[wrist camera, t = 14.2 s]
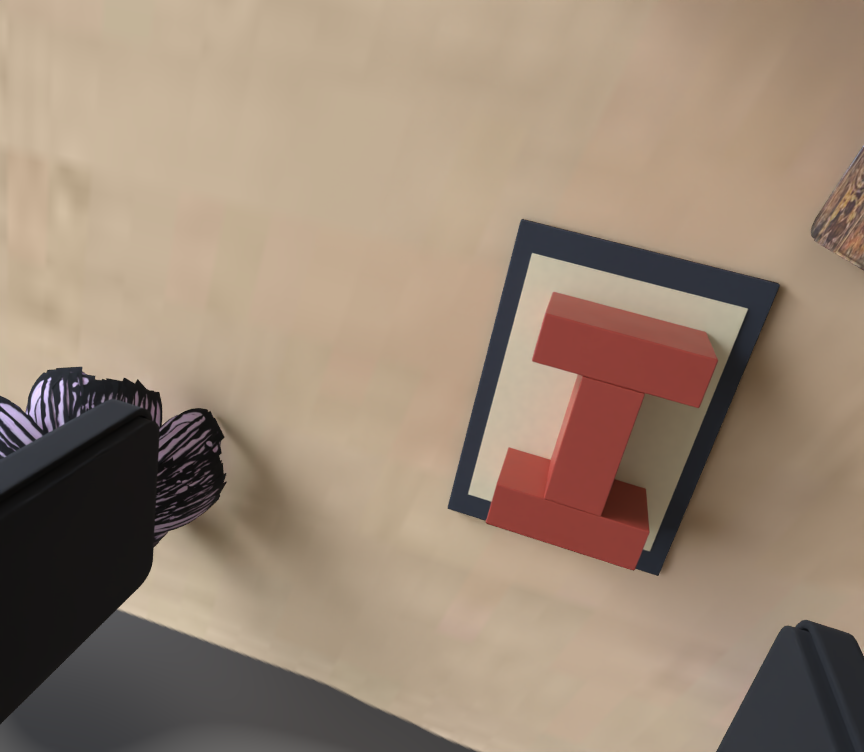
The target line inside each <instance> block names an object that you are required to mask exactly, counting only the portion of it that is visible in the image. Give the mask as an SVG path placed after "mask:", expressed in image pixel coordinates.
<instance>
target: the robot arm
mask: <svg viewBox="0 0 864 752" xmlns="http://www.w3.org/2000/svg"><path fill="white" fill-rule="evenodd" d="M159 436H160V430H159V426H158V424H157V423H156V422H154V421H153V419H152V415H151V413H150V411H148V410H147V409H145V408H142V407H138V406H135V405H132V404H129V403H126V402H123V401H120V400H117V399H110V400H107V401H105V402H103V403H101V404H99V405H97V406H96V407H94V408H92V409H90V410H88V411H87V412H85V413H83V414H81V415H79V416H78V417H76V418H74V419H72V420H70V421H69V422H67V423H65V424H63V425H61V426H60V427H58V428H56V429H54V430H52V431H51V432H49V433H47V434H45V435H44V436H42V437H40V438H38V439H36V440H35V441H33V442H31V443H29V444H27V445H26V446H24V447H22V448H20V449H18V450H17V451H15V452H13V453H11V454H9V455H8V456H6V457H4V458H2V459H0V724H1V723H2V722H3V721H4V720H5V719H6V718H7V717H8V716H9V715H10V714H11V713H12V712H13V711H14V710H15V709H16V708H17V707H18V706H19V705H20V704H21V703H22V702H23V701H24V700H25V699H26V698H27V697H28V696H29V695H30V694H31V693H32V692H33V691H34V690H35V689H36V688H38V687H39V686H40V685H41V684H42V683H43V682H44V680H46V679H47V678H48V677H49V676H50V675H51V674H52V673H53V672H54V671H55V670H56V669H57V668H58V667H59V666H60V665H61V664H62V663H63V662H64V661H65V660H66V659H67V658H68V657H69V656H70V655H71V654H72V653H73V652H74V651H75V650H76V649H77V648H78V647H79V646H80V645H81V644H82V643H83V642H84V641H85V640H86V639H87V638H88V637H89V636H90V635H91V634H92V633H93V632H94V631H95V630H96V629H97V628H98V627H99V626H100V625H101V624H102V623H103V622H104V621H105V620H106V619H107V618H108V617H109V616H110V615H111V614H112V613H113V612H115V611H116V610H117V609H118V608H119V607H120V606H121V605H122V604H123V603H124V602H125V601H126V600H127V599H128V598H129V597H130V596H131V595H132V594H133V593H134V592H135V591H136V590H137V589H138V588H139V587H140V586H141V585H142V583H143V582H144V581H145V579H146V578H147V576H148V574H149V572H150V570H151V566H152V562H153V547H154V529H155V510H156V492H157V473H158V454H159ZM716 752H864V656H863V654H862V651H861V649H860V647H859V645H858V643H857V641H856V640H855V638H854V637H853V636H852V635H851V634H849V633H846V632H843V631H840V630H837V629H834V628H830V627H827V626H824V625H821V624H818V623H815V622H812V621H808V620H803V621H801V622H800V623H798V624H797V626H796V627H791V626H784V627H783V628H782V629H781V631H780V632H779V634H778V635H777V637H776V639H775V641H774V643H773V645H772V647H771V649H770V651H769V653H768V654H767V656H766V658H765V660H764V662H763V664H762V666H761V668H760V670H759V671H758V673H757V675H756V677H755V679H754V681H753V683H752V685H751V687H750V689H749V690H748V692H747V694H746V696H745V698H744V700H743V702H742V704H741V706H740V708H739V709H738V711H737V713H736V715H735V717H734V719H733V721H732V723H731V725H730V726H729V728H728V730H727V732H726V734H725V736H724V738H723V740H722V742H721V744H720V745H719V747H718V749H717V751H716Z"/></svg>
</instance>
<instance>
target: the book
mask: <svg viewBox="0 0 864 752" xmlns="http://www.w3.org/2000/svg"><path fill="white" fill-rule="evenodd" d="M811 235H812V237H813V238H814V241H816V242H817V243H819V244H820V245H822V246H824V247H825V248H827V249H829V250H830V251H832V252H834V253H835V254H837V255H839V256H840V257H842V258H844V259H846V260H847V261H849V262H851V263H852V264H854V265H856V266H857V267H859V268H861V269H862V270H864V145H863V147H862V148H861V150H860V151H859V153H858V154H857V156H856V157H855V159H854V160H853V162H852V164H851V165H850V167H849V168H848V170H847V171H846V173H845V174H844V176H843V177H842V179H841V180H840V182H839V184H838V185H837V187H836V188H835V190H834V191H833V193H832V194H831V196H830V197H829V199H828V200H827V202H826V204H825V205H824V207H823V208H822V210H821V211H820V213H819V214H818V216H817V217H816V219H815V221H814V223H813V225H812V228H811Z"/></svg>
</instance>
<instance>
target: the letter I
mask: <svg viewBox="0 0 864 752" xmlns="http://www.w3.org/2000/svg"><path fill="white" fill-rule="evenodd" d="M532 361H533V362H536V363H539V364H543V365H546V366H550V367H553V368H557V369H561V370H564V371H568V372H571V373H575V374H578V375H577V378H576V381H575V384H574V388H573V391H572V394H571V397H570V400H569V403H568V407H567V410H566V413H565V416H564V419H563V422H562V426H561V429H560V432H559V435H558V438H557V441H556V445H555V448H554V451H553V454H552V457H551V460H550V459H546V458H543V457H540V456H536V455H533V454H530V453H527V452H523V451H520V450H517V449H513V448H510V447H509V448H508V450H507V453H506V456H505V459H504V463H503V466H502V469H501V472H500V475H499V478H498V481H497V484H496V488H495V491H494V495H493V498H492V502H491V505H490V509H489V512H488V516H487V519H486V523H487V524H490V525H493V526H496V527H499V528H502V529H505V530H509V531H512V532H515V533H518V534H521V535H524V536H527V537H530V538H534V539H537V540H540V541H543V542H546V543H549V544H552V545H555V546H558V547H562V548H565V549H568V550H571V551H574V552H577V553H580V554H583V555H587V556H590V557H593V558H596V559H599V560H602V561H605V562H608V563H611V564H615V565H618V566H621V567H624V568H627V569H630V570H633V571H634V570H635V568H636V565H637V563H638V560H639V558H640V555H641V553H642V551H643V548H644V546H645V543H646V541H647V538H648V536H649V533H650V530H649V518H648V506H647V494H646V489H645V488H642V487H639V486H636V485H632V484H629V483H626V482H622V481H619V480H616V479H615V476H616V473H617V471H618V468H619V465H620V462H621V460H622V457H623V454H624V451H625V449H626V446H627V443H628V440H629V438H630V435H631V432H632V429H633V427H634V424H635V421H636V418H637V416H638V413H639V410H640V407H641V404H642V402H643V399H644V396H645V393H646V394H649V395H653V396H656V397H660V398H663V399H667V400H671V401H674V402H678V403H681V404H685V405H688V406H692V407H695V408H699V407H700V405H701V403H702V400H703V398H704V395H705V393H706V390H707V388H708V385H709V383H710V380H711V378H712V375H713V373H714V370H715V368H716V365H717V363H718V358H717V356H716V354H715V351H714V349H713V347H712V344H711V342H710V340H709V337H708V335H707V333H706V332H704V331H701V330H697V329H693V328H689V327H686V326H682V325H678V324H674V323H671V322H667V321H663V320H659V319H655V318H652V317H648V316H644V315H640V314H637V313H633V312H629V311H625V310H622V309H618V308H614V307H610V306H606V305H603V304H599V303H595V302H591V301H588V300H584V299H580V298H576V297H572V296H569V295H565V294H561V293H557V292H553V293H552V295H551V298H550V301H549V304H548V306H547V309H546V312H545V315H544V318H543V322H542V325H541V329H540V333H539V336H538V340H537V343H536V347H535V350H534V354H533V357H532Z"/></svg>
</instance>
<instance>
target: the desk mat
mask: <svg viewBox="0 0 864 752" xmlns="http://www.w3.org/2000/svg"><path fill="white" fill-rule="evenodd" d="M779 286H780V285H779V284H778V283H775V282H771V281H767V280H763V279H759V278H755V277H751V276H747V275H743V274H739V273H735V272H731V271H727V270H723V269H719V268H715V267H711V266H707V265H703V264H699V263H695V262H691V261H687V260H684V259H680V258H676V257H672V256H668V255H664V254H660V253H656V252H652V251H648V250H644V249H640V248H636V247H632V246H628V245H624V244H620V243H616V242H612V241H608V240H604V239H600V238H596V237H592V236H588V235H584V234H580V233H576V232H572V231H568V230H564V229H560V228H556V227H552V226H548V225H544V224H540V223H536V222H532V221H528V220H524V219H522V220H521V222H520V225H519V229H518V233H517V237H516V241H515V245H514V249H513V253H512V257H511V261H510V265H509V269H508V273H507V277H506V280H505V284H504V288H503V292H502V296H501V300H500V304H499V308H498V312H497V316H496V320H495V324H494V328H493V332H492V335H491V339H490V343H489V347H488V351H487V355H486V359H485V363H484V367H483V371H482V375H481V379H480V383H479V387H478V391H477V394H476V398H475V402H474V406H473V410H472V414H471V418H470V422H469V426H468V430H467V434H466V438H465V442H464V446H463V449H462V453H461V457H460V461H459V465H458V469H457V473H456V477H455V481H454V485H453V489H452V493H451V497H450V501H449V504H448V509H451V510H454V511H457V512H460V513H463V514H466V515H469V516H473V517H476V518H479V519H482V520H485V521H486V519H487V516H488V512H489V509H490V505H491V502H492V498H493V495H494V491H495V488H496V484H497V481H498V478H499V475H500V472H501V469H502V466H503V463H504V459H505V456H506V453H507V450H508V448H509V447H510V448H513V449H517V450H520V451H523V452H527V453H530V454H533V455H536V456H540V457H543V458H546V459H550V460H551V457H552V454H553V451H554V448H555V445H556V441H557V438H558V435H559V432H560V429H561V426H562V422H563V419H564V416H565V413H566V410H567V407H568V403H569V400H570V397H571V394H572V391H573V388H574V384H575V381H576V378H577V375H578V374H575V373H571V372H568V371H564V370H561V369H557V368H553V367H550V366H546V365H543V364H539V363H536V362H533V361H532V357H533V354H534V350H535V347H536V343H537V340H538V336H539V333H540V329H541V325H542V322H543V318H544V315H545V312H546V309H547V306H548V304H549V301H550V298H551V295H552V293H553V292H557V293H561V294H565V295H569V296H572V297H576V298H580V299H584V300H588V301H591V302H595V303H599V304H603V305H606V306H610V307H614V308H618V309H622V310H625V311H629V312H633V313H637V314H640V315H644V316H648V317H652V318H655V319H659V320H663V321H667V322H671V323H674V324H678V325H682V326H686V327H689V328H693V329H697V330H701V331H704V332H706V333H707V335H708V337H709V340H710V342H711V344H712V347H713V349H714V351H715V354H716V356H717V358H718V363H717V365H716V368H715V370H714V373H713V375H712V378H711V380H710V383H709V385H708V388H707V390H706V393H705V395H704V398H703V400H702V403H701V405H700V407H699V408H695V407H692V406H688V405H685V404H681V403H678V402H674V401H671V400H667V399H663V398H660V397H656V396H653V395H649V394H646V393H645V396H644V399H643V402H642V404H641V407H640V410H639V413H638V416H637V418H636V421H635V424H634V427H633V429H632V432H631V435H630V438H629V440H628V443H627V446H626V449H625V451H624V454H623V457H622V460H621V462H620V465H619V468H618V471H617V473H616V476H615V479H616V480H619V481H622V482H626V483H629V484H632V485H636V486H639V487H642V488H645V489H646V494H647V506H648V518H649V530H650V533H649V536H648V538H647V541H646V543H645V546H644V548H643V551H642V553H641V555H640V558H639V560H638V563H637V565H636V568H635V569H638V570H641V571H644V572H647V573H651V574H654V575H657V576H658V575H659V573H660V571H661V568H662V566H663V563H664V561H665V559H666V556H667V554H668V552H669V549H670V547H671V544H672V542H673V540H674V537H675V535H676V532H677V530H678V528H679V525H680V523H681V520H682V518H683V516H684V513H685V511H686V509H687V506H688V504H689V501H690V499H691V497H692V494H693V492H694V489H695V487H696V485H697V482H698V480H699V477H700V475H701V473H702V470H703V468H704V466H705V463H706V461H707V458H708V456H709V454H710V451H711V449H712V446H713V444H714V442H715V439H716V437H717V434H718V432H719V430H720V427H721V425H722V423H723V420H724V418H725V415H726V413H727V411H728V408H729V406H730V403H731V401H732V399H733V396H734V394H735V392H736V389H737V387H738V384H739V382H740V380H741V377H742V375H743V372H744V370H745V368H746V365H747V363H748V360H749V358H750V356H751V353H752V351H753V349H754V346H755V344H756V341H757V339H758V337H759V334H760V332H761V329H762V327H763V325H764V322H765V320H766V317H767V315H768V313H769V310H770V308H771V306H772V303H773V301H774V298H775V296H776V294H777V291H778V289H779Z"/></svg>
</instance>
